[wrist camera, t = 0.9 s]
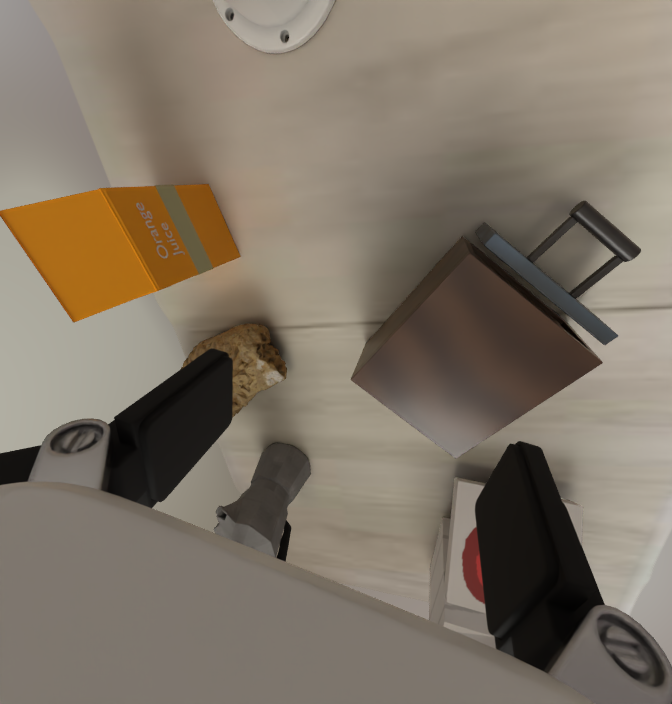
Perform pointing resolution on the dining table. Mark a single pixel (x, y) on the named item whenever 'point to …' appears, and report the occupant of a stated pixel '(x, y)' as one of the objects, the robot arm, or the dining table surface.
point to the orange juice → (121, 242)
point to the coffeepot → (266, 502)
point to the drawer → (546, 284)
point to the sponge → (246, 360)
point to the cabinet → (469, 353)
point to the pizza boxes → (466, 566)
